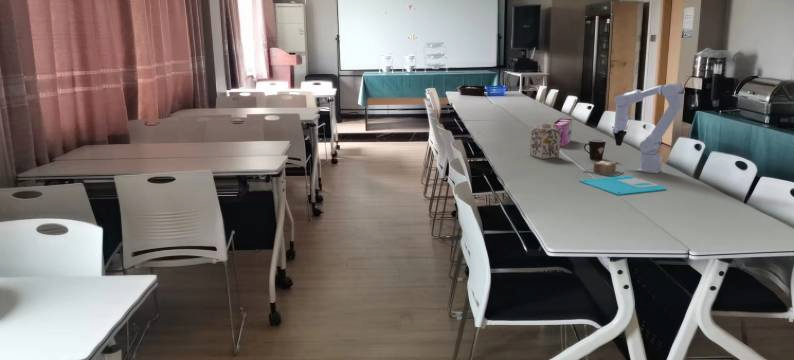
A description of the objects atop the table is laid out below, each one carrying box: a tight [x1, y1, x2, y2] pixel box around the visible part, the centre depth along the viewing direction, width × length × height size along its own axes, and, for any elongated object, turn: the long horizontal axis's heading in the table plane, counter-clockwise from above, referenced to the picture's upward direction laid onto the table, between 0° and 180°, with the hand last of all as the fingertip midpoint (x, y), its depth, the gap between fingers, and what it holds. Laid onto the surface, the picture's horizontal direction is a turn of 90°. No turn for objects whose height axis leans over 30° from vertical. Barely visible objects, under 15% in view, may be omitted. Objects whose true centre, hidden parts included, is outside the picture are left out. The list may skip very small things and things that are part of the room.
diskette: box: [578, 175, 667, 196], centre depth 274 cm, size 26×28×1 cm
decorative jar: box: [529, 122, 561, 160], centre depth 334 cm, size 12×12×18 cm
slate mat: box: [582, 167, 624, 177], centre depth 299 cm, size 16×10×1 cm, turn 50°
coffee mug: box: [583, 138, 607, 161], centre depth 329 cm, size 12×9×10 cm
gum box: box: [552, 118, 573, 147], centre depth 375 cm, size 24×8×14 cm, turn 156°
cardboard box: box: [593, 160, 617, 174], centre depth 299 cm, size 7×4×10 cm
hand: (618, 145), depth 312 cm, fingers closed
